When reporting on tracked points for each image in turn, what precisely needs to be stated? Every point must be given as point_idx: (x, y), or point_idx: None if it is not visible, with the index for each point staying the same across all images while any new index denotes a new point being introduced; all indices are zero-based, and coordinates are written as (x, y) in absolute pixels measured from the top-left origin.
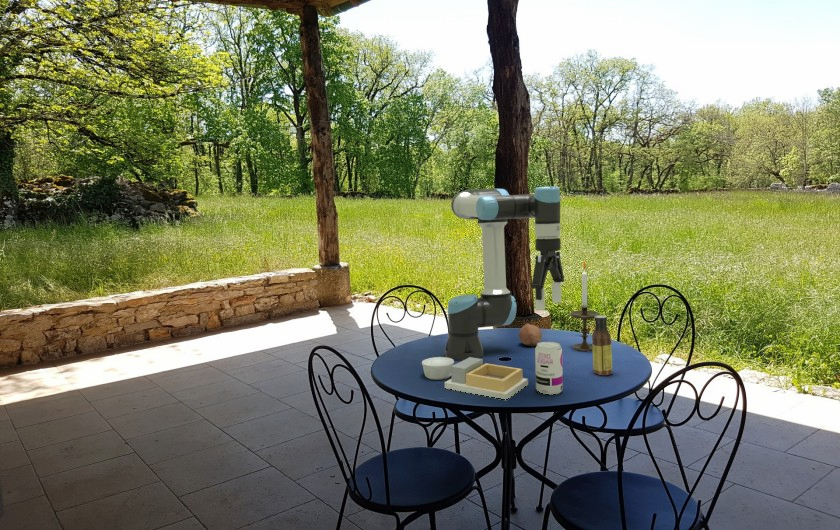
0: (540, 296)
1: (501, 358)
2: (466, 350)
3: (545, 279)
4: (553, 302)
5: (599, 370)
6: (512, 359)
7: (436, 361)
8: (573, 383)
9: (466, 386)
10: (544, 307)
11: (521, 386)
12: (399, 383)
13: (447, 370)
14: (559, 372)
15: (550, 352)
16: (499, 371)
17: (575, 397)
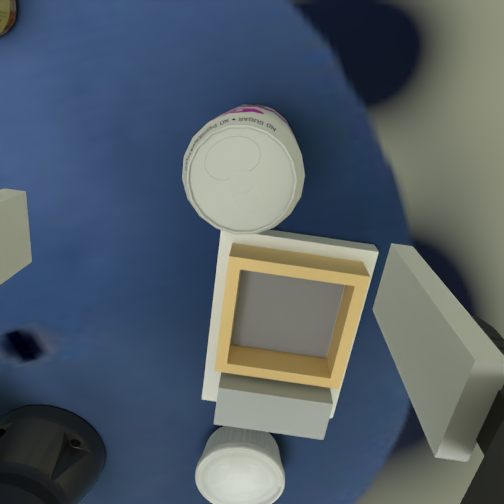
0: (496, 338)
1: (23, 355)
2: (72, 452)
3: (477, 472)
4: (30, 252)
5: (9, 5)
6: (14, 326)
7: (242, 484)
8: (147, 87)
9: (346, 363)
10: (409, 254)
11: (270, 232)
12: (329, 497)
13: (259, 440)
14: (270, 112)
15: (300, 154)
16: (233, 318)
17: (281, 49)
